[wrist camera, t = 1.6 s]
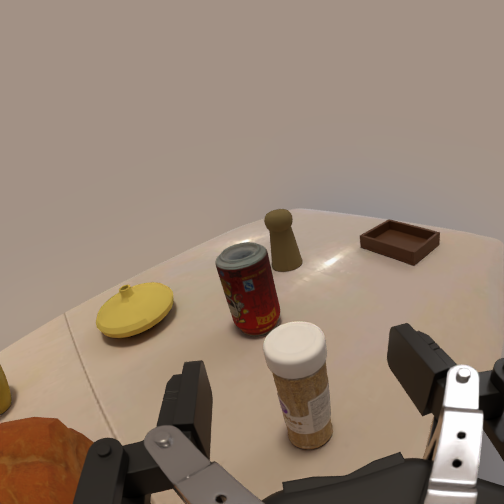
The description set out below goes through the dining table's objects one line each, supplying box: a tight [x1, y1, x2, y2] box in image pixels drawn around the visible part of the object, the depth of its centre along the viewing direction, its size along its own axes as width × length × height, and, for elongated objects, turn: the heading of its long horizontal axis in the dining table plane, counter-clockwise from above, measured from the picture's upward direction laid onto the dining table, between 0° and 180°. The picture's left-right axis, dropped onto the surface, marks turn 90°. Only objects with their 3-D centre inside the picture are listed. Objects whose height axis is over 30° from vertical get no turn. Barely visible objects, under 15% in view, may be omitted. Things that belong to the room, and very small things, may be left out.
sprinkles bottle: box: [263, 321, 333, 449], centre depth 24 cm, size 5×5×14 cm
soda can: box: [216, 242, 280, 336], centre depth 43 cm, size 7×7×12 cm
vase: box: [96, 282, 173, 338], centre depth 52 cm, size 16×16×7 cm
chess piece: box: [264, 209, 302, 272], centre depth 59 cm, size 6×6×11 cm
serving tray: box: [360, 220, 440, 265], centre depth 56 cm, size 13×10×3 cm
